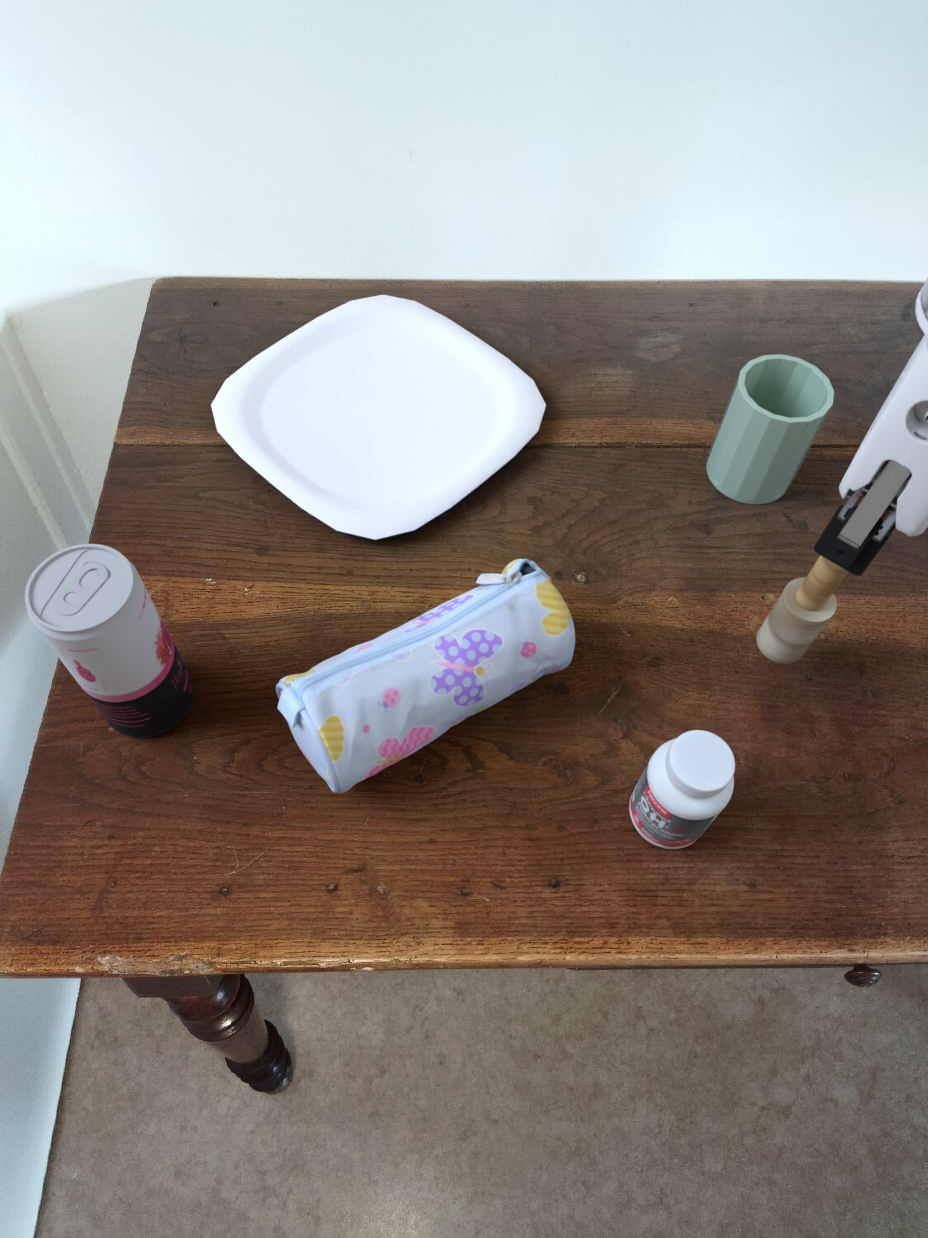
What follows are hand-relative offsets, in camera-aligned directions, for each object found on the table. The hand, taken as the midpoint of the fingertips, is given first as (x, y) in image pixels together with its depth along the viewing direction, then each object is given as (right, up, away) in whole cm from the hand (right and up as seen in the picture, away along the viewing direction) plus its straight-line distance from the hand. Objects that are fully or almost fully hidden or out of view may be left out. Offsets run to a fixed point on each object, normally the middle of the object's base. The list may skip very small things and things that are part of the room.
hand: (850, 543), depth 55 cm
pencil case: (-26, -11, +11) cm, 30 cm away
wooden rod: (0, -6, +11) cm, 12 cm away
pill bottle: (-10, -18, +7) cm, 22 cm away
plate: (-31, +14, +26) cm, 43 cm away
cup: (+1, +8, +23) cm, 25 cm away
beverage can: (-47, -11, +10) cm, 49 cm away
